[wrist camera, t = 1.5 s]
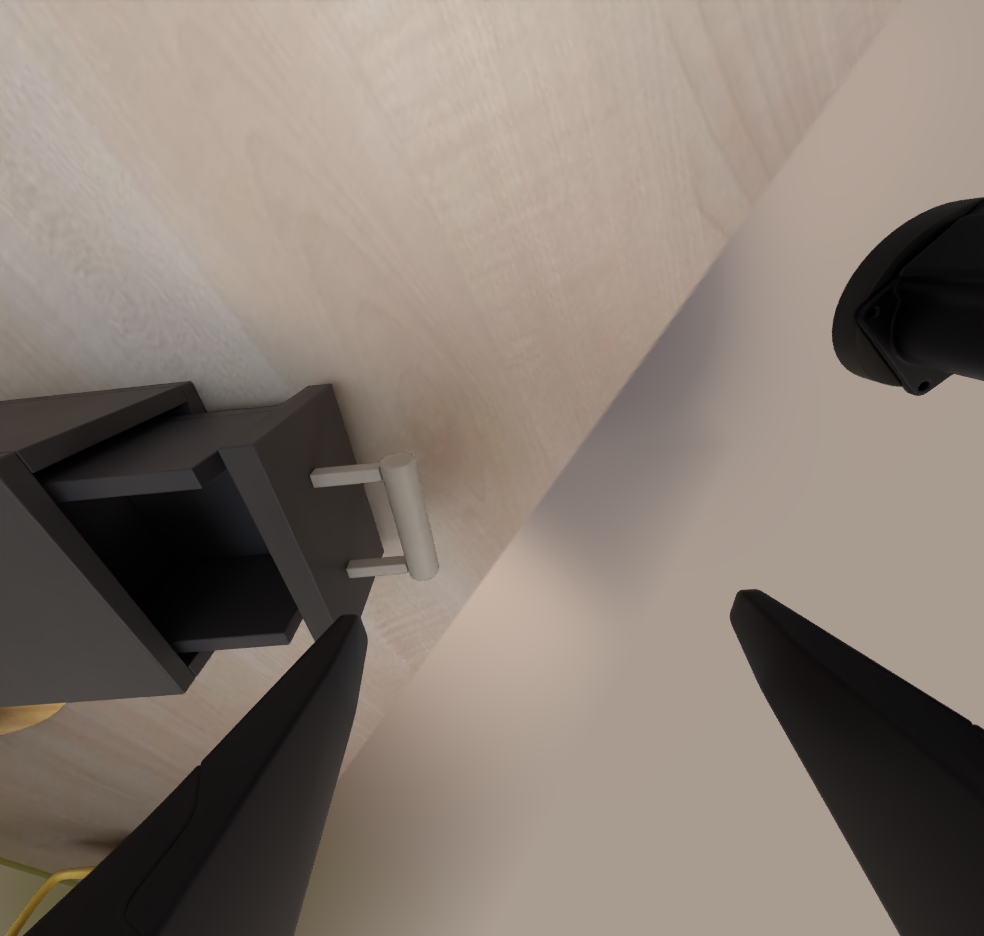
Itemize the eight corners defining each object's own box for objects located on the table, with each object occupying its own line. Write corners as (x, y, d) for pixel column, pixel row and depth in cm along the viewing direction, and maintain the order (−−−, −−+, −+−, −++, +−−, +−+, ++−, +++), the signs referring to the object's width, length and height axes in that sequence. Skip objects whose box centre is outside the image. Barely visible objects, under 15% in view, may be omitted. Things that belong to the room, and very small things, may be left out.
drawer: (420, 373, 17) (385, 432, 11) (453, 545, 22) (441, 648, 16) (79, 409, 18) (-123, 481, 12) (185, 568, 23) (80, 675, 17)
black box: (191, 380, 18) (-15, 463, 11) (279, 558, 24) (184, 694, 16) (-69, 408, 19) (-440, 505, 11) (77, 576, 24) (-106, 716, 17)
